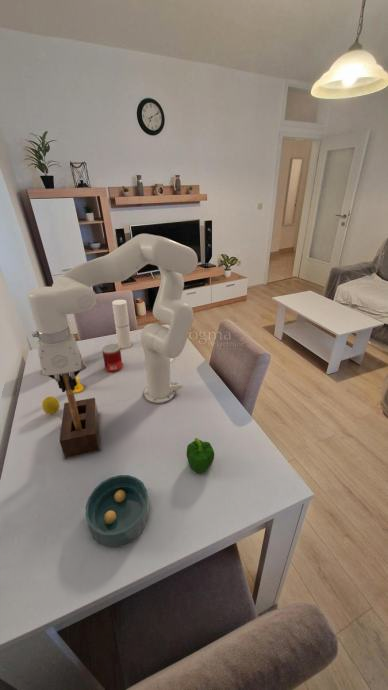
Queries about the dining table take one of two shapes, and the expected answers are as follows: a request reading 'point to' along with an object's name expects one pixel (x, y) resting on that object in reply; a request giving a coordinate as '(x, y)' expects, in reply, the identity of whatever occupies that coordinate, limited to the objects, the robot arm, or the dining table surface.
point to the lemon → (50, 405)
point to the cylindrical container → (121, 323)
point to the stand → (84, 438)
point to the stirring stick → (71, 401)
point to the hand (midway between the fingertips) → (68, 388)
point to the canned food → (112, 357)
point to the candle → (78, 386)
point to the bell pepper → (200, 455)
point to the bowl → (118, 510)
